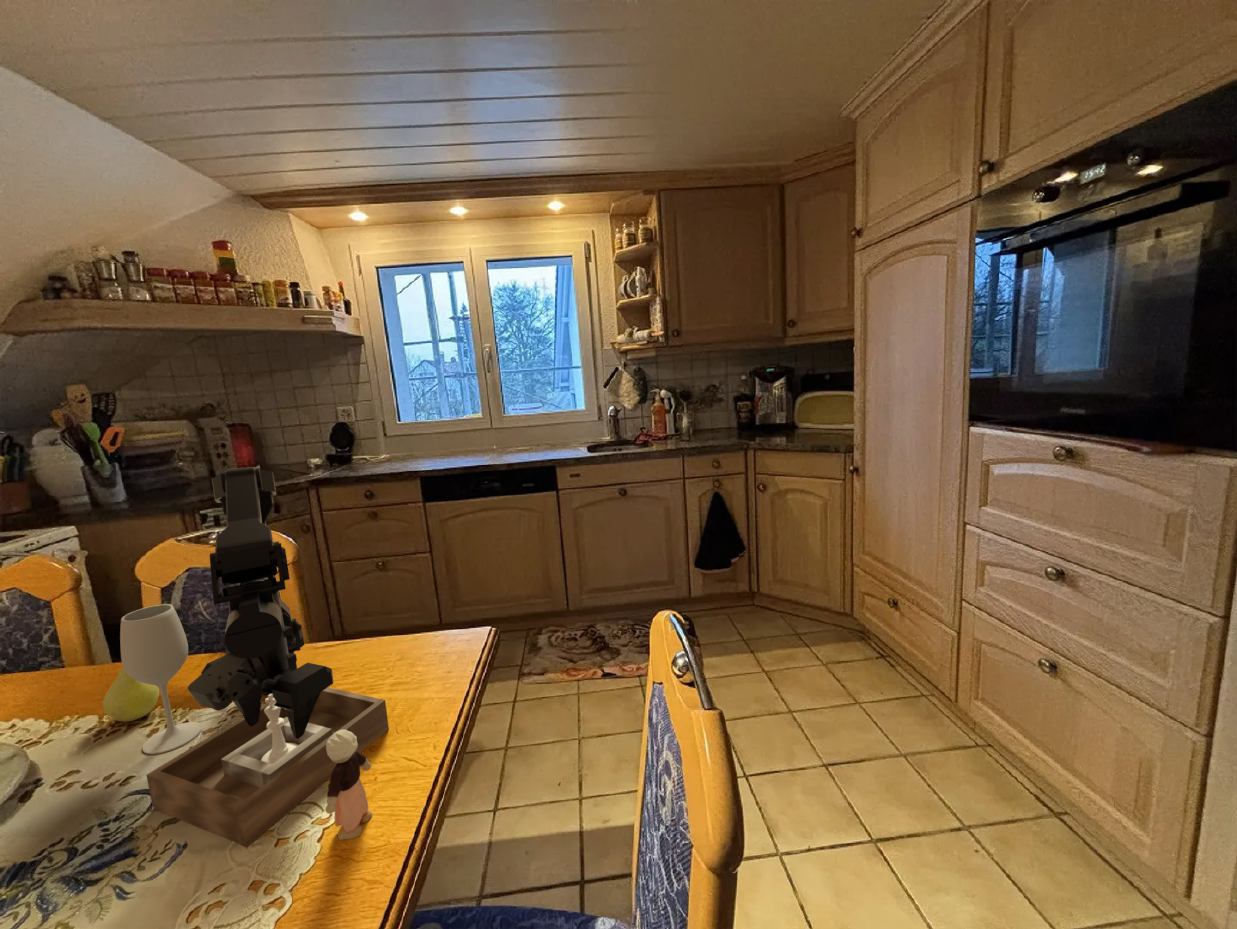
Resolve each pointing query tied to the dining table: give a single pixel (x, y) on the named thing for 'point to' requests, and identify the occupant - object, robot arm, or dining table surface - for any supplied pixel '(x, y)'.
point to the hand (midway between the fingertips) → (276, 730)
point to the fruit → (129, 698)
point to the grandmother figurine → (347, 785)
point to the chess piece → (276, 733)
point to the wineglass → (157, 665)
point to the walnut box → (260, 768)
